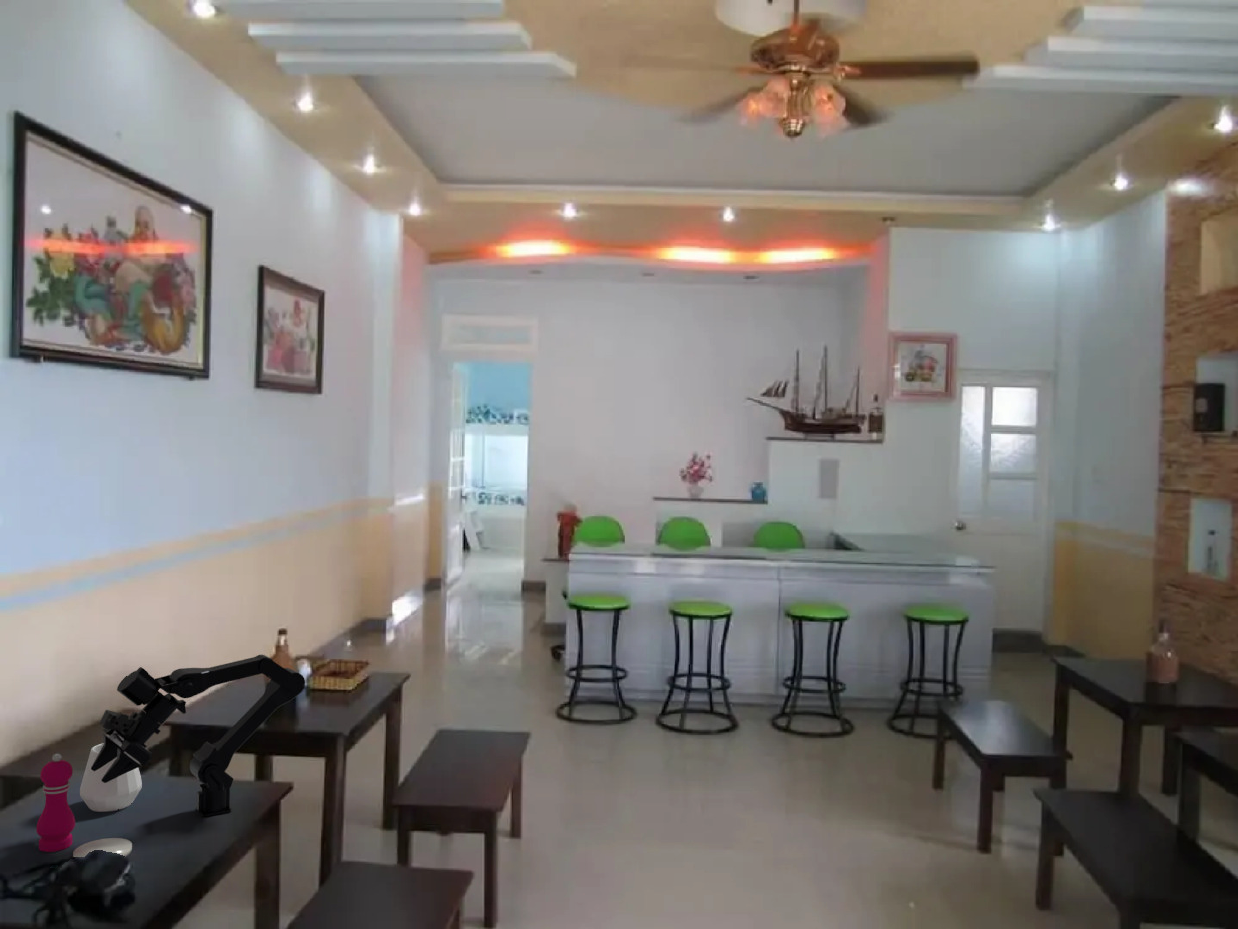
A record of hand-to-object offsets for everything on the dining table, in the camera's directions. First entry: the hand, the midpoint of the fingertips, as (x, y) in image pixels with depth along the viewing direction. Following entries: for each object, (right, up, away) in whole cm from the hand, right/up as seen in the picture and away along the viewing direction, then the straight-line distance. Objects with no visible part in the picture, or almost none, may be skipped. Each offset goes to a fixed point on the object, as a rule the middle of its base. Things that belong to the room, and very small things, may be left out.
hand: (97, 776), depth 214 cm
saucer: (+5, -14, -8) cm, 17 cm away
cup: (-7, -13, +19) cm, 24 cm away
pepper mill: (-6, -14, -5) cm, 16 cm away
